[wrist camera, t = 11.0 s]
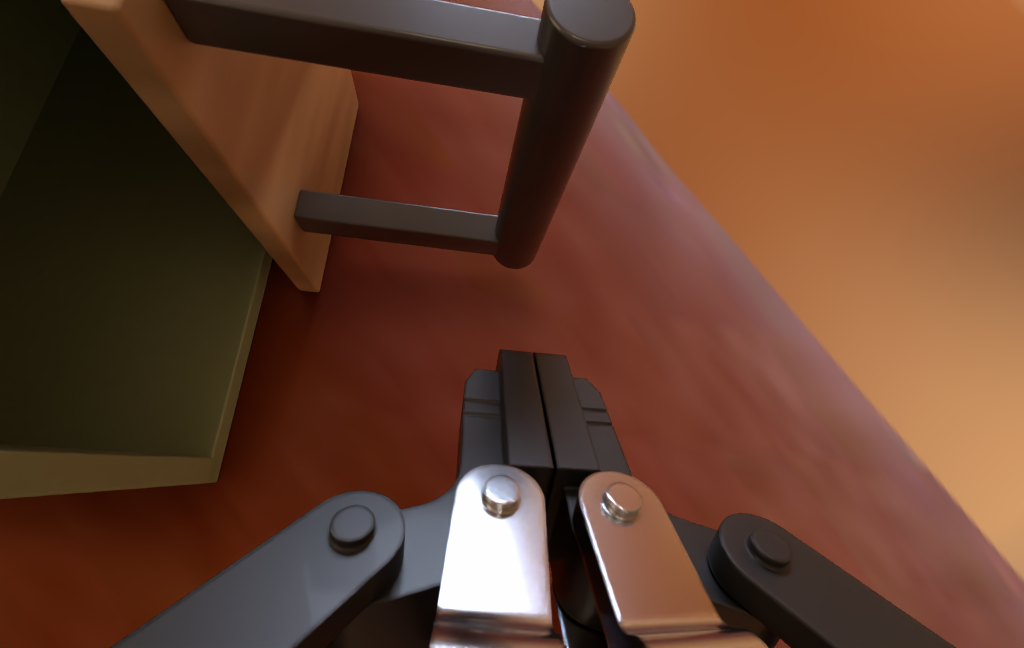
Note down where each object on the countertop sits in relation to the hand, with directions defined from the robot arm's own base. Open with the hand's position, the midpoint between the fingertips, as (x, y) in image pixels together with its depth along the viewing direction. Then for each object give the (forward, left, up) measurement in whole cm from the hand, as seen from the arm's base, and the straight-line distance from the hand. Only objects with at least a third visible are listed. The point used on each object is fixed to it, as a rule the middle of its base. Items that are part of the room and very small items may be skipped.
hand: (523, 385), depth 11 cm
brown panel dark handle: (+1, +9, -7) cm, 11 cm away
